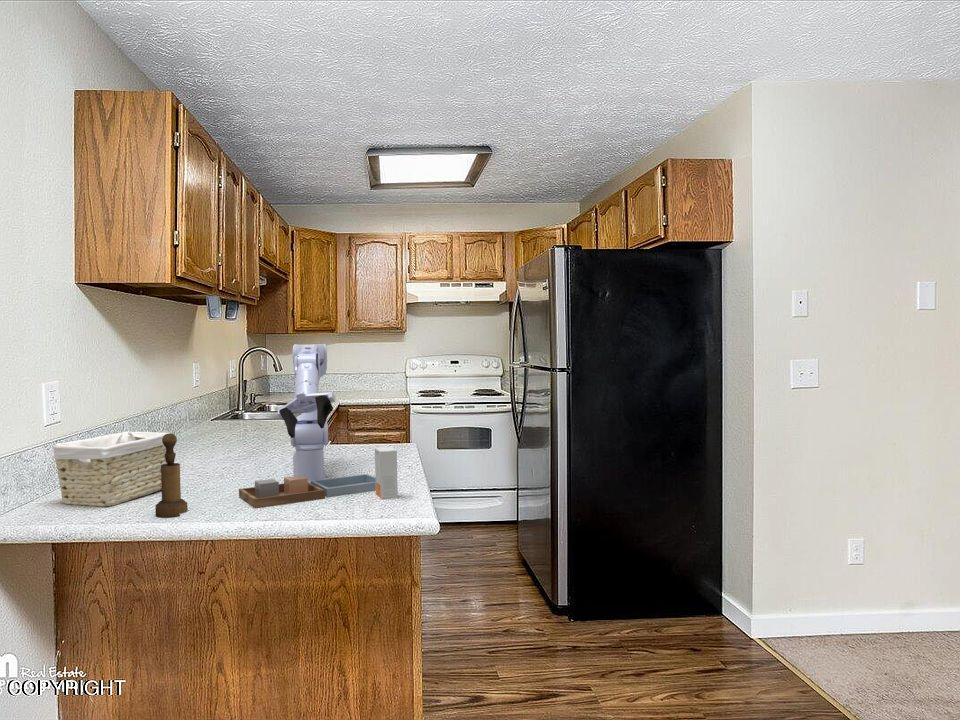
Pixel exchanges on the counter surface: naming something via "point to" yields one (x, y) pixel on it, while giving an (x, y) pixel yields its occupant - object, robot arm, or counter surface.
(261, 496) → the grey cube
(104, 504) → the storage basket
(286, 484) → the russet cube
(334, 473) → the counter surface
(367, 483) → the slate tray
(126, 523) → the counter surface
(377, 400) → the counter surface
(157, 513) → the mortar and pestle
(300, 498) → the walnut bin
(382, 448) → the skincare box
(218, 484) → the counter surface
